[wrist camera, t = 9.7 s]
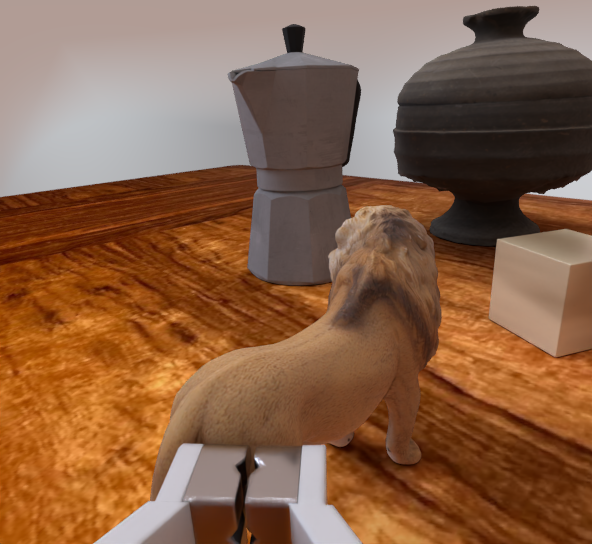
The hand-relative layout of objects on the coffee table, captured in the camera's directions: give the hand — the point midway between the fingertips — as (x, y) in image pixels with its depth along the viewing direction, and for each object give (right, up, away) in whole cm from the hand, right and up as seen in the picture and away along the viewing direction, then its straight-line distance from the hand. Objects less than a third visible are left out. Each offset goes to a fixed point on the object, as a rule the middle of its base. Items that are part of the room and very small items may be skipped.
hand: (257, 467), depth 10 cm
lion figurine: (+2, -3, +6) cm, 7 cm away
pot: (+19, +8, +36) cm, 41 cm away
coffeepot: (+2, +5, +29) cm, 30 cm away
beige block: (+16, +1, +16) cm, 22 cm away
